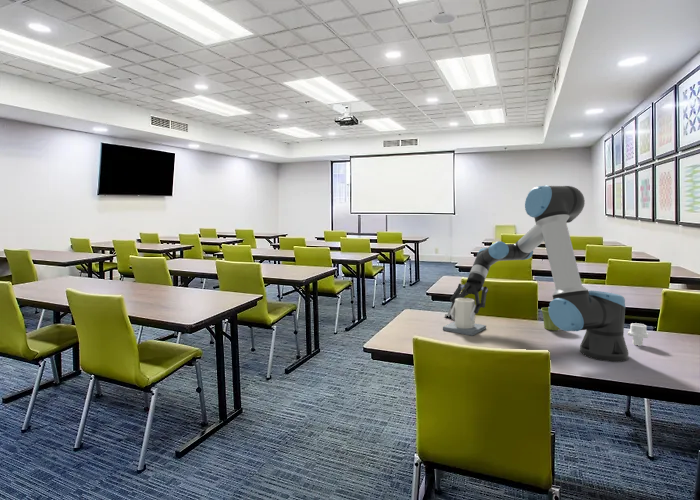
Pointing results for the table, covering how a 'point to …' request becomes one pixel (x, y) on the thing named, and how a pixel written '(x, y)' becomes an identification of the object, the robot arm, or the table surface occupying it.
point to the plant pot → (548, 320)
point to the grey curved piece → (449, 314)
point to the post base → (467, 331)
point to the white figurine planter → (638, 333)
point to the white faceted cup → (464, 313)
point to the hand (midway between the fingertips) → (461, 317)
